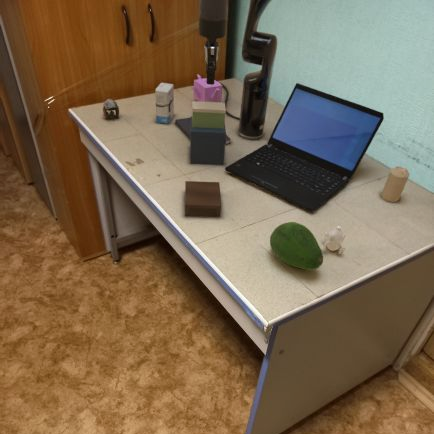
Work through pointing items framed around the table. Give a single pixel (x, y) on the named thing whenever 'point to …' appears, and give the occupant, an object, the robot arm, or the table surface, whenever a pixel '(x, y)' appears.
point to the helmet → (110, 108)
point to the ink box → (164, 102)
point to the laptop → (311, 148)
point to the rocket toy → (334, 239)
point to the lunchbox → (208, 114)
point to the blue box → (207, 145)
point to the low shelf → (202, 199)
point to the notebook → (186, 126)
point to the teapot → (207, 90)
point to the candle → (395, 184)
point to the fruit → (296, 246)
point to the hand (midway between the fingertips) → (209, 78)
